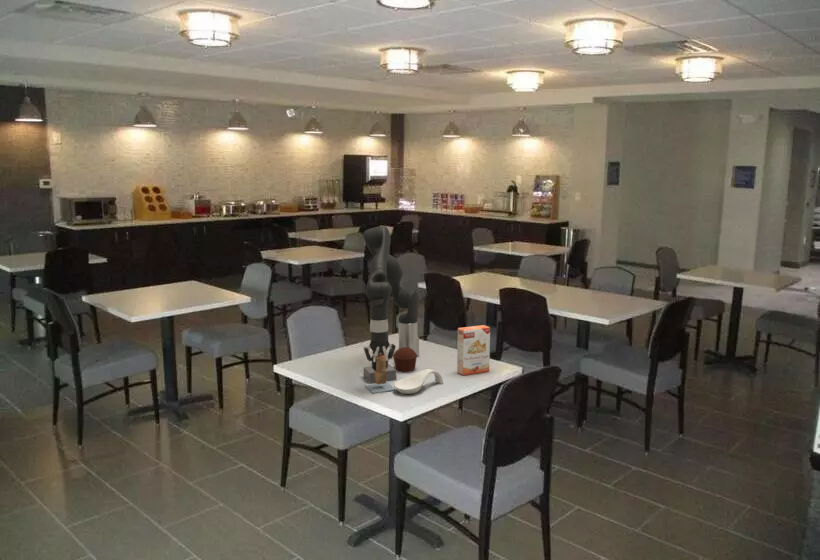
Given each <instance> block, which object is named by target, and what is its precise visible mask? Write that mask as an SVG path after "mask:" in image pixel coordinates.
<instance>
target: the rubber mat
mask: <svg viewBox="0 0 820 560" xmlns="http://www.w3.org/2000/svg"><path fill="white" fill-rule="evenodd" d="M365 387H366V389H368V391H369V392H370V393H371V394H380V393H388V392H395V391H396V390H397V389H396V388H395V387H394V386H393V385H391V384H390V383H389V381H386V383H385V384H376V383H370V384H366V385H365Z"/></svg>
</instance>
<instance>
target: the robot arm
mask: <svg viewBox="0 0 820 560" xmlns="http://www.w3.org/2000/svg"><path fill="white" fill-rule="evenodd" d="M363 239H364V242H365V245H366V247H367V248H368V250H369V252H370V253H371V255H372V256H373V258H372V260H371V262H370V266H369V270H370V271H369V279H368V281H367V283H366V286H365V296H366V297H367V298H368V299H370V300H381V302H378V303H375V304H372V305H371V306H370V309H369V314H370V315H369V316H370V323H369V336H370V338H369V339H370V340H369V341H370V342H369V345H367V346H363V350H364V351H363V352H364V354H365V356H366V359H367V360H368V361H369V362H371V366H372V369H373V370H374V371H375V370H376V356H377V355H378V354H380V353H382V354H383V355H386V369H387V368H388V364H389V360H390V359H392V358H394V357H393V355H394V353H395V351H396V350H395V349H396V345H395V344H394V343H390V342H389V321H388V307H389V300H390V297H391V296H392V299H393V301H394V304H395V305H396V306H397V308H401V309H407V313H404V314H400V315H399V316H398V349H400V348H403V347H408V348H411V349H412V350H414V351H415V353H416V354H417V357H420V337H419V336H418V318H419V317H418V316H419V302H420V298H419V297H420V296H419V292H418V291H417V290H414V289H410V288H409V289H406V288H403V287H402V286H401V281H402V279H403V275H404V272H403V268H402V267H401V264H400V262H399V260H398V259H397V258H396V257H394V256H393V255H391V254H390V253H389V252H390V247H391V233H390V231H389V228H388V227H387V226H386V225H380V226H379V225H378V226H375V227H372V228H368V229H365V230H364V232H363ZM388 348H389V351H388V353H387V350H388ZM371 351H372V352H371ZM370 352H371V354H370Z"/></svg>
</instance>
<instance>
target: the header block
mask: <svg viewBox="0 0 820 560" xmlns="http://www.w3.org/2000/svg"><path fill="white" fill-rule="evenodd" d="M362 369H363V373H362V375H363V378H364V379H365V380H366V381H367V382H368V383H369V384H376V383H375V382H374V370H373V369H372V365H369V366H368V365H367V366H363V367H362ZM391 381H397V370H396V369H395V367H393V366H392V365H391V364H389V363H388V368H387V369H386V382H391Z"/></svg>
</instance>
